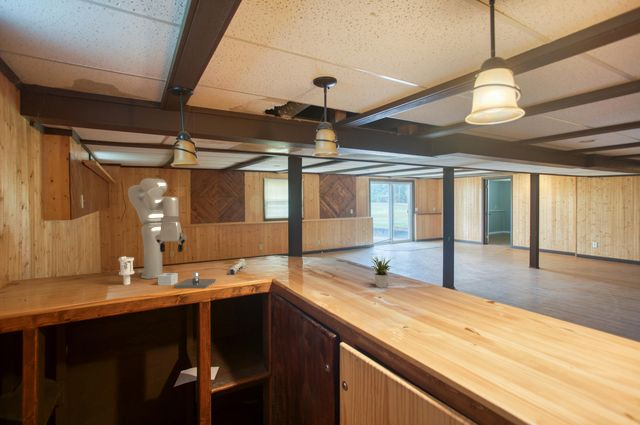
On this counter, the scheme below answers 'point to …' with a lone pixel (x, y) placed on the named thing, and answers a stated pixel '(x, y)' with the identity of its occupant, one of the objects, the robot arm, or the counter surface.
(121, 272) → the white upright piece
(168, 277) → the collar
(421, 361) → the counter surface
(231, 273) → the white flashlight
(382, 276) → the house plant
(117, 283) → the counter surface
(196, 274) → the grey plate with knob
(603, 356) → the counter surface
